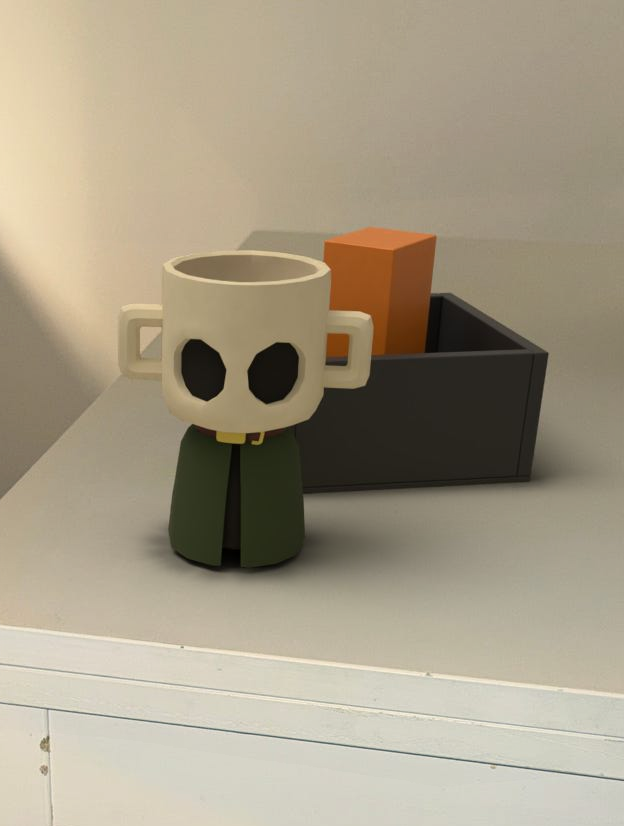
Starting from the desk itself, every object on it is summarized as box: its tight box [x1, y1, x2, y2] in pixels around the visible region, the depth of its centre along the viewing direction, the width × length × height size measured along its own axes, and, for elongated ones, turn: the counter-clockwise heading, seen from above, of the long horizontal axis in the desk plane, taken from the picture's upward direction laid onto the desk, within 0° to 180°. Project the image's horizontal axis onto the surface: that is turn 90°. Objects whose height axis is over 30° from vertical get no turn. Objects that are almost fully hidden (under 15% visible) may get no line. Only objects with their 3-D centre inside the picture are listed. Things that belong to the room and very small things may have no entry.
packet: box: [322, 226, 438, 357], centre depth 70 cm, size 5×4×11 cm
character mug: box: [117, 249, 373, 569], centre depth 58 cm, size 11×7×13 cm, turn 82°
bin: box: [289, 292, 550, 495], centre depth 72 cm, size 14×14×7 cm
